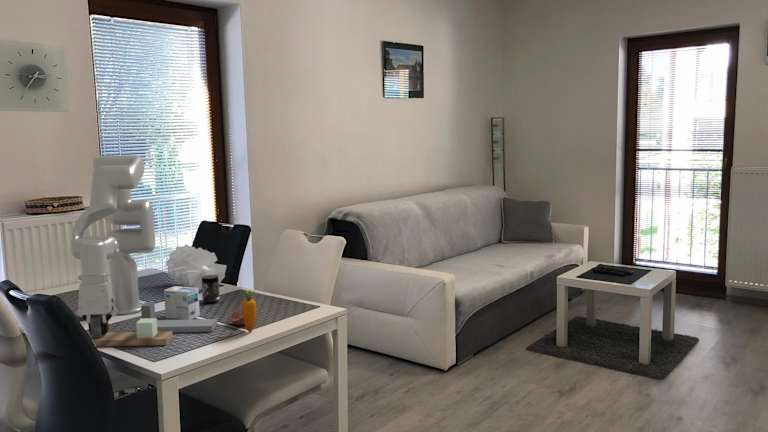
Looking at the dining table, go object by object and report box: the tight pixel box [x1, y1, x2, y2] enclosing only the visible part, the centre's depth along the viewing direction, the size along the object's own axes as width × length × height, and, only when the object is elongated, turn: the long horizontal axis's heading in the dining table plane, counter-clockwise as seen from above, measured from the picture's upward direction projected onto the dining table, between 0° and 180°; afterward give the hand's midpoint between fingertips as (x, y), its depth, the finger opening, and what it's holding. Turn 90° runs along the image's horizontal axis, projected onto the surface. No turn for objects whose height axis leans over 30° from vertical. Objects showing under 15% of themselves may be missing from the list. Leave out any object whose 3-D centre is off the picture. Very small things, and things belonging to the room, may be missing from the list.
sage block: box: [135, 317, 158, 338], centre depth 213 cm, size 5×5×5 cm
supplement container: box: [201, 275, 221, 305], centre depth 261 cm, size 7×7×10 cm
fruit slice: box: [228, 308, 245, 326], centre depth 231 cm, size 8×7×5 cm
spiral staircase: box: [165, 243, 227, 292], centre depth 285 cm, size 18×18×25 cm
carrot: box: [241, 289, 257, 333], centre depth 222 cm, size 5×5×15 cm
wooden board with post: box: [90, 315, 174, 347], centre depth 213 cm, size 24×8×9 cm, turn 92°
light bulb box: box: [163, 285, 201, 320], centre depth 241 cm, size 11×7×11 cm, turn 71°
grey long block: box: [140, 301, 218, 333], centre depth 226 cm, size 24×8×9 cm, turn 92°
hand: (99, 333), depth 213 cm, fingers closed on wooden board with post, 3 cm apart
